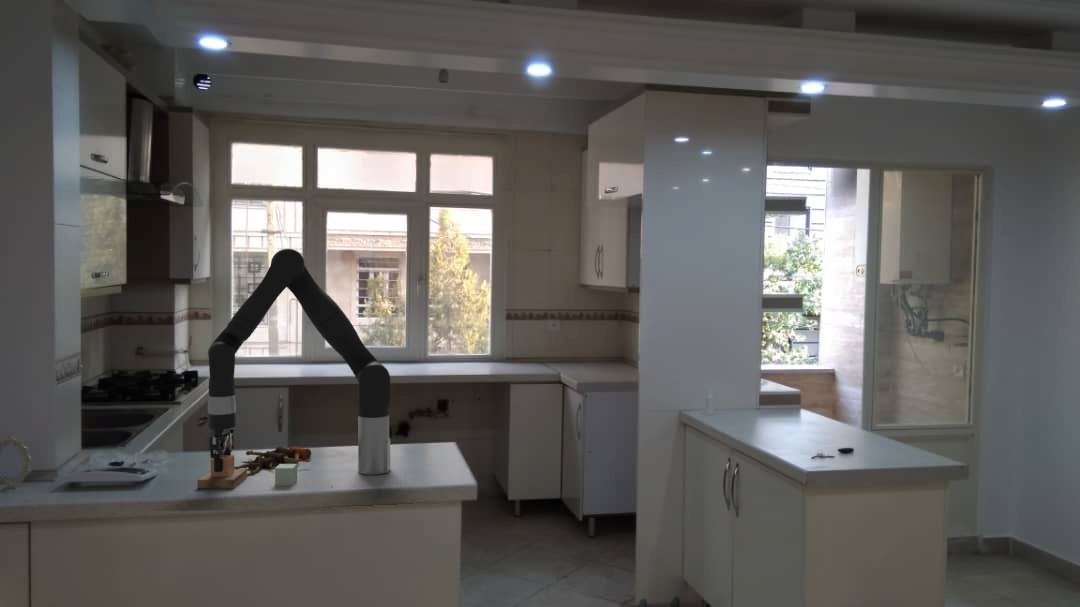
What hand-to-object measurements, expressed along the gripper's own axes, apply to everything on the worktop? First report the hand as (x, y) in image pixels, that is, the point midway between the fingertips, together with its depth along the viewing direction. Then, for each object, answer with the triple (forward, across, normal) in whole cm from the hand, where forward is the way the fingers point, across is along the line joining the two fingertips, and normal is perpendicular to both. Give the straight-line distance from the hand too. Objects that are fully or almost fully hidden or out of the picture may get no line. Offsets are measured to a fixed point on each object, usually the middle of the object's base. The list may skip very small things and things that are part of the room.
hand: (222, 468), depth 242 cm
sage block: (+4, 0, -18) cm, 19 cm away
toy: (+5, +20, -7) cm, 22 cm away
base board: (+4, 0, 0) cm, 4 cm away
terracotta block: (+2, 0, 0) cm, 2 cm away
